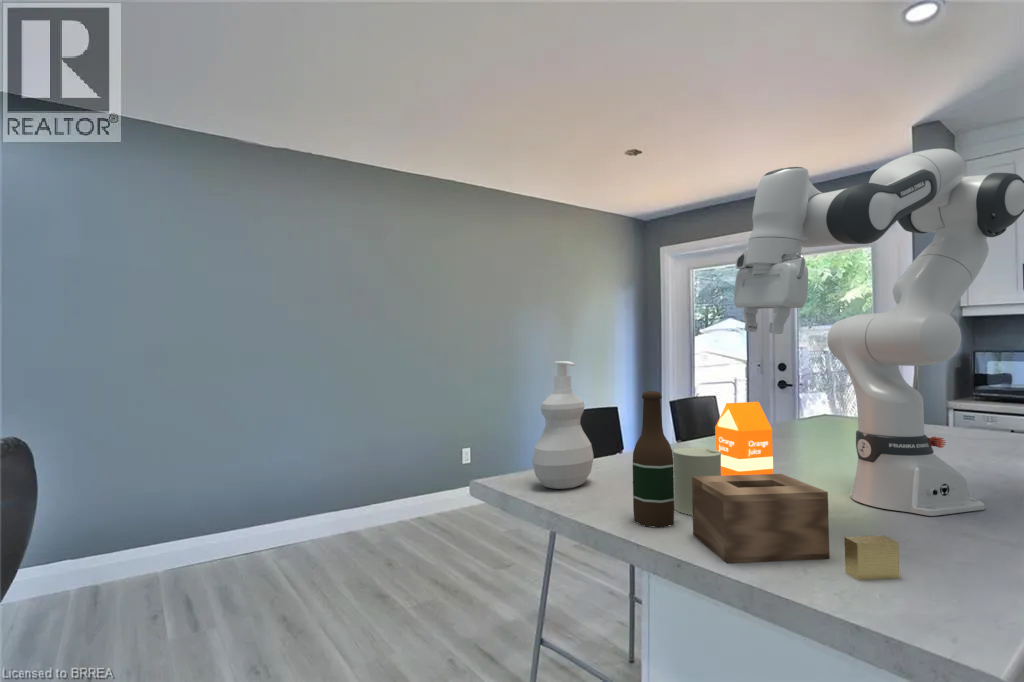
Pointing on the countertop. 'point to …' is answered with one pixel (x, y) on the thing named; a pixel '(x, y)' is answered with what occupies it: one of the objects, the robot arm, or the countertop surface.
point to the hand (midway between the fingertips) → (762, 332)
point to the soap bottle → (562, 437)
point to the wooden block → (872, 557)
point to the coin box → (760, 518)
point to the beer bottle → (653, 468)
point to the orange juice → (744, 440)
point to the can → (692, 473)
